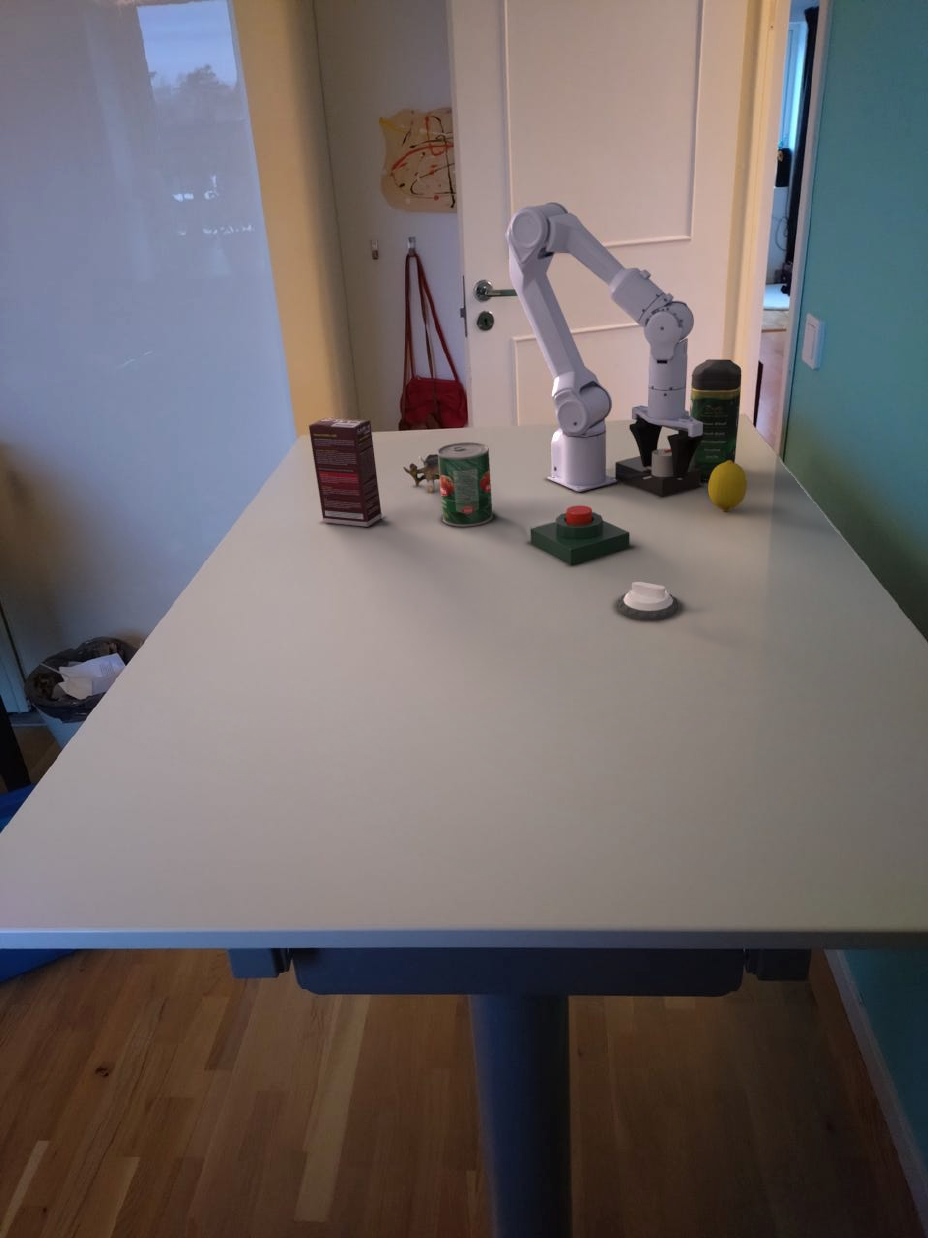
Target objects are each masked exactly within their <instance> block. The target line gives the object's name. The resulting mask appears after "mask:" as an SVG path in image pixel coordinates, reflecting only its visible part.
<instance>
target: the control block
mask: <svg viewBox="0 0 928 1238" xmlns="http://www.w3.org/2000/svg"><path fill="white" fill-rule="evenodd" d="M530 544H532V545H533V546H535V547H536V548H539V549H541V550H543V551H544V552H546V553H548V554H549V555H552V556H554V557H555V558H557V559H559V560H561V561H563V562H565V563H567V565H570V566H573V565H576V564H579V563H582V562H586V561H589V560H592V559H597V558H599V557H602V556H603V557H604V556H606V555H610V554H613V553H615V552H619V551H622V550H626V549H628V548H630V531H627V530H626V529H623V528H621V527H619V526H616V525H614V524H612V523H610V522H608V521H605V520H603V516H602V515H601V514H599V513H596V512H593V511H592V522H591V523H587V524H581V525H574V524H569V523H567V522H566V512H564V513H561V514H559V515H557V516H556V518H555V521H553V522H550V523H545V524H542V525H538V526H535V527H531V528H530Z"/></svg>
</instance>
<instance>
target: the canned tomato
mask: <svg viewBox="0 0 928 1238" xmlns="http://www.w3.org/2000/svg"><path fill="white" fill-rule="evenodd" d="M489 451H490V447H489V446H488V445H487V444H484V443H481V442H471V441H470V442H468V441H467V442H463V441H462V442H455V443H450V444H446V445H444V446H441V447H439V448H438V449H437V451H436V454H438V464H439V476H440V480H439V485H440V487H439V488H440V499H441V511H442V521H443V522H444V523H445V524H446V525H449V526H452V527H458V528H469V527H470V528H471V527H476V526H477V527H478V526H481V525H484V524H486V523H489V522H490V521H491V520H492V519H493V517H494V514H493V502H492V500H493V499H492V487H491V486H492V484H491V465H490V453H489Z"/></svg>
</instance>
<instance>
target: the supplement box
mask: <svg viewBox="0 0 928 1238" xmlns="http://www.w3.org/2000/svg"><path fill="white" fill-rule="evenodd" d="M308 430H309V438H310V443H311V451H312V456H313V457H312V458H313V463H314V469H315V476H316V481H317V488H318V489H317V490H318V495H319V496H318V497H319V502H320V509H321V516H322V521H323V523H326V524H336V525H346V526H356V527H366V528H368V527H370V526H371V525H373V524H375V523H376V522H377V521H379V520H380V519H382V509H381V499H380V493H379V491H380V490H379V484H378V475H377V466H376V458H375V450H374V441H373V432H372V424H371V420H369V419H349V418H332V417H331V418H328V417H324V418H321V419H319V420H317V421H315V422H312V423H311V424H309V425H308Z"/></svg>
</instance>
